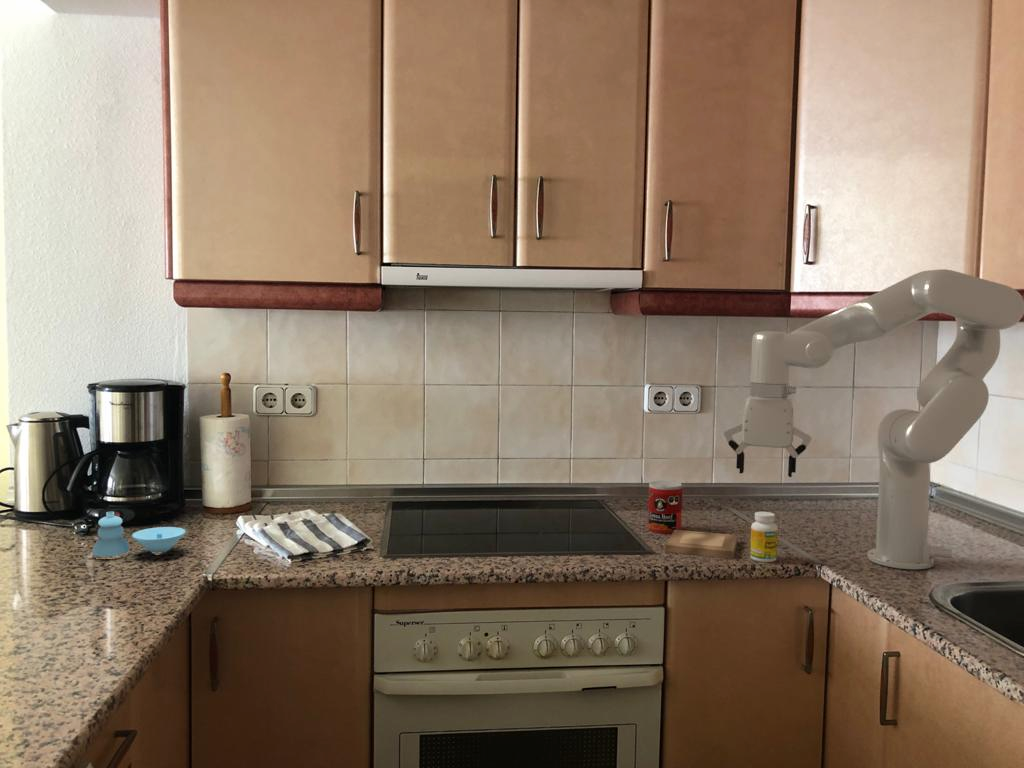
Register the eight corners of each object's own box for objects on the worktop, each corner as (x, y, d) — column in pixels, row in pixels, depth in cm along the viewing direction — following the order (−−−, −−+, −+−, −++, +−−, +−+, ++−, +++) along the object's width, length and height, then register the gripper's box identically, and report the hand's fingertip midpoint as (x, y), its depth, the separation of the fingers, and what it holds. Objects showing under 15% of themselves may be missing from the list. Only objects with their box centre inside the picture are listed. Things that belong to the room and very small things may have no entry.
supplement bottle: (761, 554, 185) (763, 509, 184) (782, 560, 181) (784, 514, 180) (744, 557, 182) (746, 512, 181) (764, 564, 178) (766, 517, 177)
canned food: (643, 531, 203) (644, 484, 202) (654, 524, 210) (655, 479, 209) (675, 535, 199) (676, 488, 198) (685, 528, 206) (686, 482, 205)
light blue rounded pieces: (190, 546, 186) (189, 504, 186) (181, 560, 176) (180, 516, 175) (100, 549, 183) (99, 507, 182) (86, 563, 173) (84, 519, 172)
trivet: (737, 541, 195) (737, 534, 194) (733, 558, 181) (733, 551, 181) (674, 536, 199) (674, 529, 199) (665, 551, 186) (665, 544, 186)
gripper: (813, 392, 179) (809, 474, 181) (727, 388, 185) (724, 468, 186) (813, 395, 172) (809, 480, 174) (724, 391, 178) (721, 474, 179)
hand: (765, 474), depth 180 cm, fingers open, 9 cm apart
